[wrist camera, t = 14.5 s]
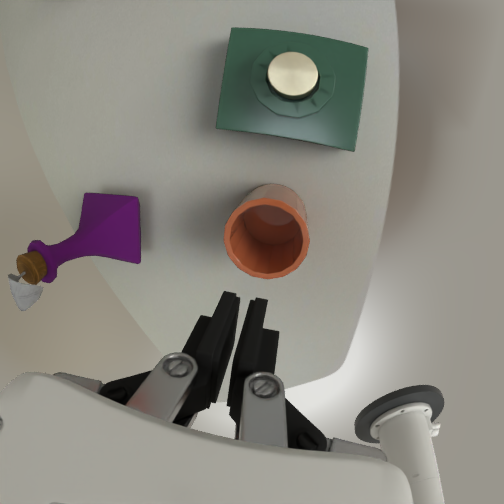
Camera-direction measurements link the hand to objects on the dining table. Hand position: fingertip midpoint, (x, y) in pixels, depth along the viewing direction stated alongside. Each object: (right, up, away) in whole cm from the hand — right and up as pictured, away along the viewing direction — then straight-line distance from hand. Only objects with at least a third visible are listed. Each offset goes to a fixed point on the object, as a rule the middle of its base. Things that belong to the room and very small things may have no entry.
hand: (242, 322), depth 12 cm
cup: (+3, +7, +15) cm, 17 cm away
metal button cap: (+4, +17, +6) cm, 18 cm away
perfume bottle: (-14, +7, +18) cm, 24 cm away
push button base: (+4, +18, +10) cm, 21 cm away
